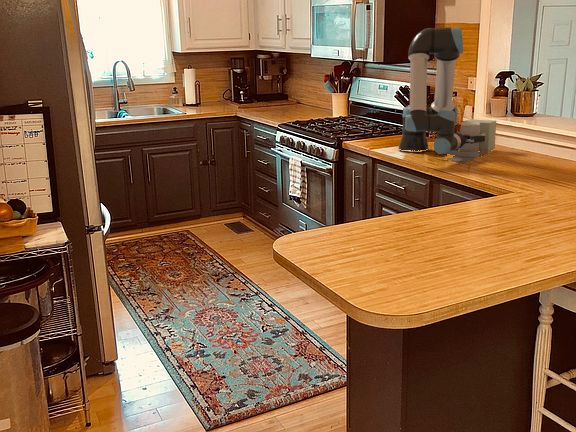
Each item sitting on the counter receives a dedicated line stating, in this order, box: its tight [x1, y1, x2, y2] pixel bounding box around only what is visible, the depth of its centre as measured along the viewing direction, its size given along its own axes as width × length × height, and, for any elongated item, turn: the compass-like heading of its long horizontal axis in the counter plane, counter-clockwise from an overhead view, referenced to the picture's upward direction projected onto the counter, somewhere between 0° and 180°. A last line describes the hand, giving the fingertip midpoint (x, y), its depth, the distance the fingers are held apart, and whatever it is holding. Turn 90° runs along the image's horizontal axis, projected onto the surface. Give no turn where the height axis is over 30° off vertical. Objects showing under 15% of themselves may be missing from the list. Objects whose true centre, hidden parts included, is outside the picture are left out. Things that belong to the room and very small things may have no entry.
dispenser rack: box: [445, 118, 497, 159], centre depth 312 cm, size 24×16×15 cm
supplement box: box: [459, 121, 480, 153], centre depth 309 cm, size 9×9×15 cm
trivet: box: [447, 155, 477, 163], centre depth 301 cm, size 14×14×1 cm
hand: (472, 135), depth 312 cm, fingers closed on supplement box, 11 cm apart
